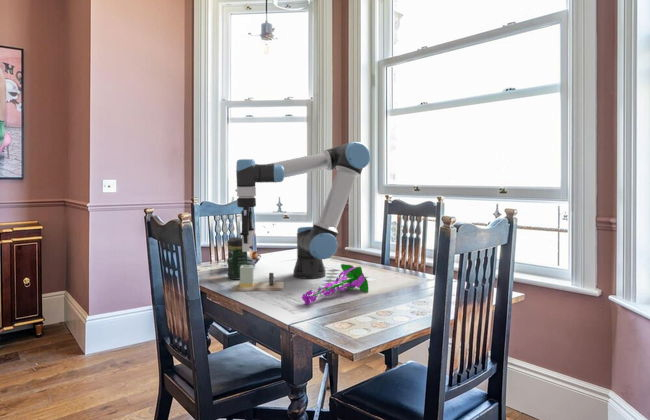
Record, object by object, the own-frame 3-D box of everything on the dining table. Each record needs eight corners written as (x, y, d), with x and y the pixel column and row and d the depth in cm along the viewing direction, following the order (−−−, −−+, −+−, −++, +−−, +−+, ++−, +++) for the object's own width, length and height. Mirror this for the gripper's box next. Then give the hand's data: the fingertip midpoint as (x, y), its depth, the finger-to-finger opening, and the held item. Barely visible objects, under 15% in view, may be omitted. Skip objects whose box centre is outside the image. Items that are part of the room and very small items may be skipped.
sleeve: (241, 284, 178) (241, 265, 177) (253, 283, 178) (253, 265, 178) (240, 287, 173) (240, 267, 172) (252, 286, 173) (252, 267, 173)
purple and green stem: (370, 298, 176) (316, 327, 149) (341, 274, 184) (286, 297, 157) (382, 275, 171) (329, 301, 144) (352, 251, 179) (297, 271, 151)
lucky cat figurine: (254, 265, 222) (263, 243, 217) (254, 279, 211) (263, 256, 206) (226, 258, 218) (234, 236, 212) (225, 272, 207) (233, 249, 202)
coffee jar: (250, 278, 192) (250, 238, 191) (234, 280, 188) (233, 239, 187) (241, 274, 200) (241, 235, 199) (225, 276, 196) (225, 236, 195)
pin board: (283, 284, 182) (283, 270, 182) (283, 290, 172) (283, 275, 172) (236, 285, 180) (236, 271, 180) (233, 291, 170) (233, 276, 170)
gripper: (240, 196, 185) (241, 244, 187) (233, 198, 161) (234, 254, 162) (257, 195, 186) (258, 243, 188) (253, 198, 161) (254, 253, 163)
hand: (247, 248), depth 175 cm, fingers open, 13 cm apart
